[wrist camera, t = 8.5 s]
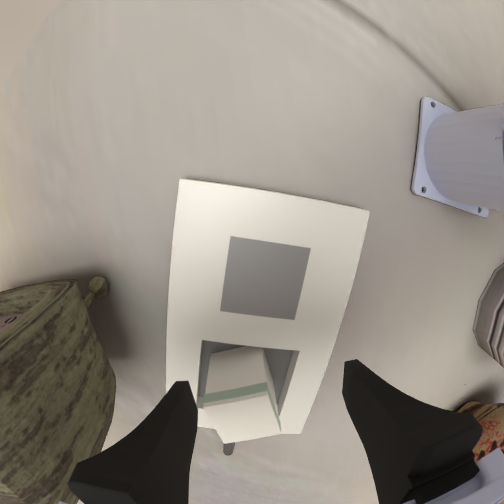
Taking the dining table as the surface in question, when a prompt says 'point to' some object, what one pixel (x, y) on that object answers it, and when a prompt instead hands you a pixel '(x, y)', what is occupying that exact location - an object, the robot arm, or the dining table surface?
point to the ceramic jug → (487, 427)
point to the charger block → (241, 395)
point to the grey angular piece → (491, 317)
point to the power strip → (259, 287)
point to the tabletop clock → (50, 389)
